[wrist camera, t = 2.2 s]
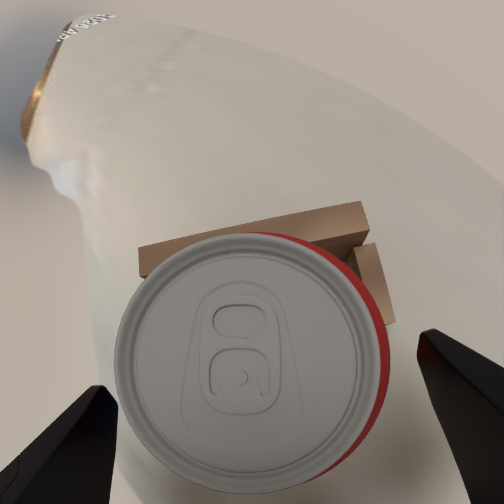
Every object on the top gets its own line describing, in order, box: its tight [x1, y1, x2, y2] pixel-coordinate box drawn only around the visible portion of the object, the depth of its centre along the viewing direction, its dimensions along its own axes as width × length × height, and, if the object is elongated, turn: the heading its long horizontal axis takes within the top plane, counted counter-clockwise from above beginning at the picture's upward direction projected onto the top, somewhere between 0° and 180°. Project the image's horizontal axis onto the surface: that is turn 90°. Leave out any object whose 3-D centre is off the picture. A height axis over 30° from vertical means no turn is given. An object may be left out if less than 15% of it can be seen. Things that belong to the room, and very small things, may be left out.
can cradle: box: [138, 201, 395, 326], centre depth 16 cm, size 6×12×4 cm, turn 99°
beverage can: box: [114, 232, 390, 494], centre depth 11 cm, size 7×7×12 cm
